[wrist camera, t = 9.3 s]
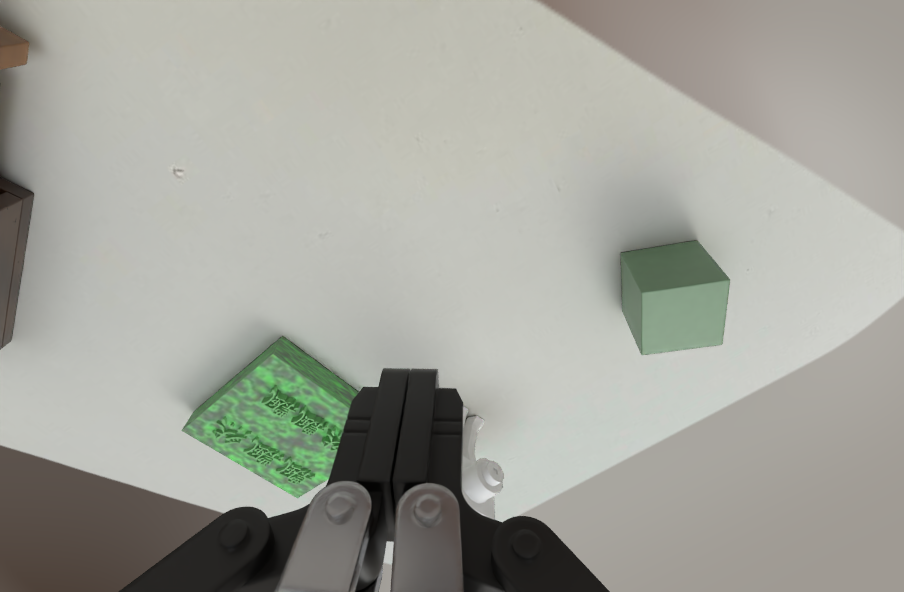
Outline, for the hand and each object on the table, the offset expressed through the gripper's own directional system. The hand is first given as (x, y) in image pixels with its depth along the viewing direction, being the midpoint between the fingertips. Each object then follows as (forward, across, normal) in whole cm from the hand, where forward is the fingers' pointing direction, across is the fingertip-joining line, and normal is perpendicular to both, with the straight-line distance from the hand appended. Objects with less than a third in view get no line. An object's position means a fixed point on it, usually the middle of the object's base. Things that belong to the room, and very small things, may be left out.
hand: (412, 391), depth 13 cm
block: (+17, -13, +6) cm, 22 cm away
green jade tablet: (+17, +12, +20) cm, 29 cm away
